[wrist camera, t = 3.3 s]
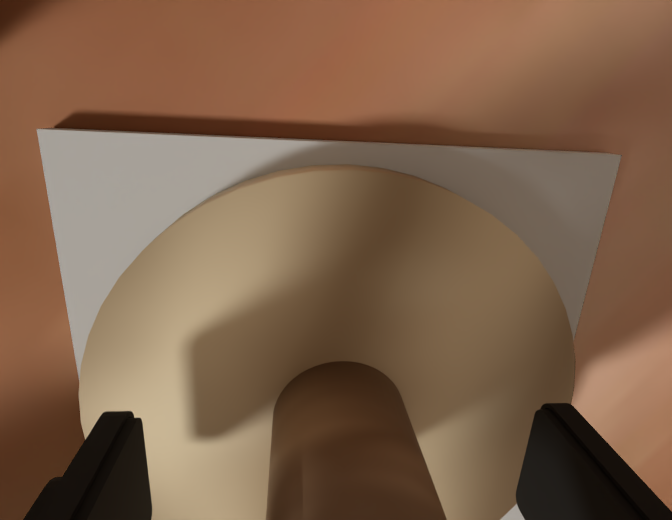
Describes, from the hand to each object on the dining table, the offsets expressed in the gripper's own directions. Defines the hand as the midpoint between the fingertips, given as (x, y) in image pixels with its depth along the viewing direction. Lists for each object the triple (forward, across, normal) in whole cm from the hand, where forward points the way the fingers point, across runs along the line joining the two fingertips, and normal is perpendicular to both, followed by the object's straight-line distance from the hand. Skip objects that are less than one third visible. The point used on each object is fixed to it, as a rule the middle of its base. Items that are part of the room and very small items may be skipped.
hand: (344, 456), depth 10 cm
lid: (+2, 0, 0) cm, 2 cm away
